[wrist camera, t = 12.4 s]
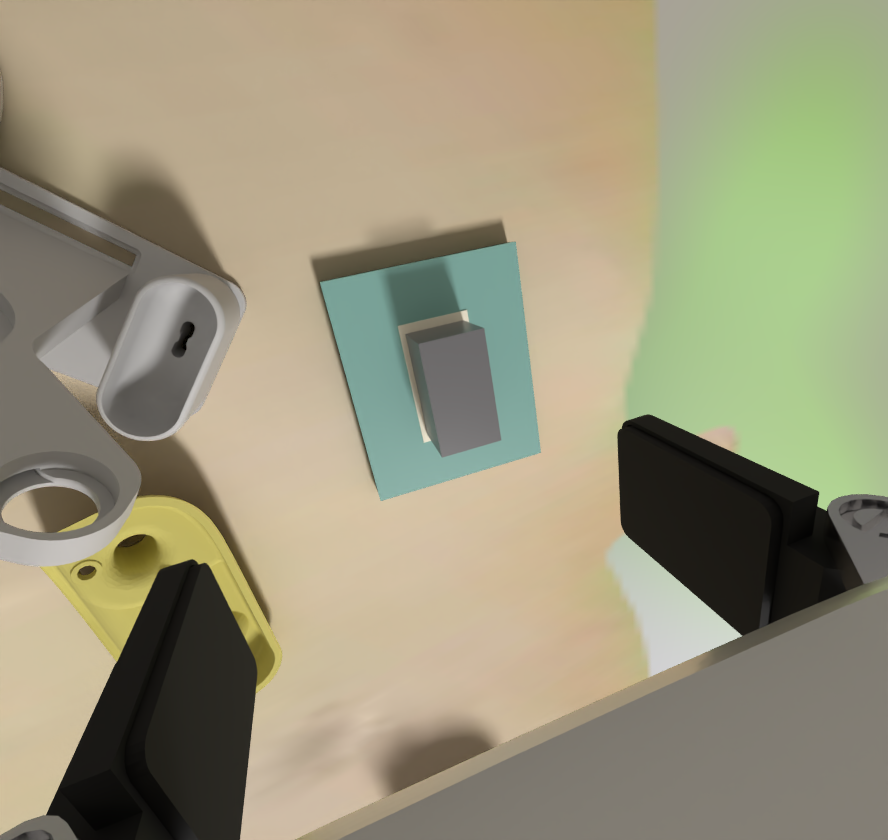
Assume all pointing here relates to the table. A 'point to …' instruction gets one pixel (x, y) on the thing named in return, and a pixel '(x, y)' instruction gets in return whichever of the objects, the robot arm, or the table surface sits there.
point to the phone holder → (95, 362)
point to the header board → (390, 368)
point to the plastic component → (135, 568)
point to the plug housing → (455, 386)
